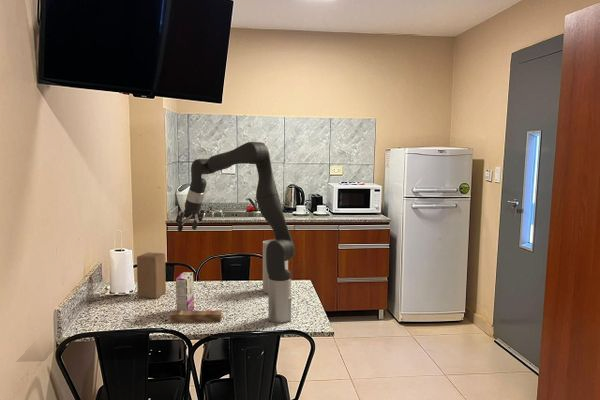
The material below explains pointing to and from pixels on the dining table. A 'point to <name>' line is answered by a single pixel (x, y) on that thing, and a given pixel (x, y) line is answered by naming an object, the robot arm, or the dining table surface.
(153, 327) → the dining table surface
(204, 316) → the guide board
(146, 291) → the wooden block
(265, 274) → the cylinder vase
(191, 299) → the candy bar box
